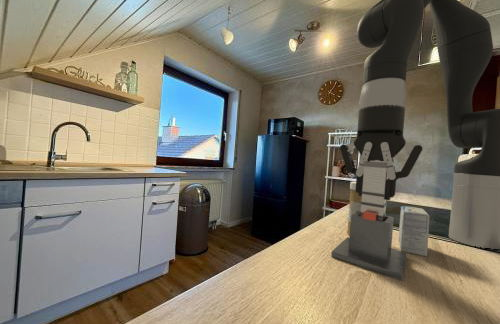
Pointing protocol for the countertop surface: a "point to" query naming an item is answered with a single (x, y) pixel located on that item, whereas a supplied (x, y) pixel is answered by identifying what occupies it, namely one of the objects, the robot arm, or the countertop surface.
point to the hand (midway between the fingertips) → (374, 197)
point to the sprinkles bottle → (353, 203)
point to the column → (374, 189)
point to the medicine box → (413, 230)
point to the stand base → (372, 245)
